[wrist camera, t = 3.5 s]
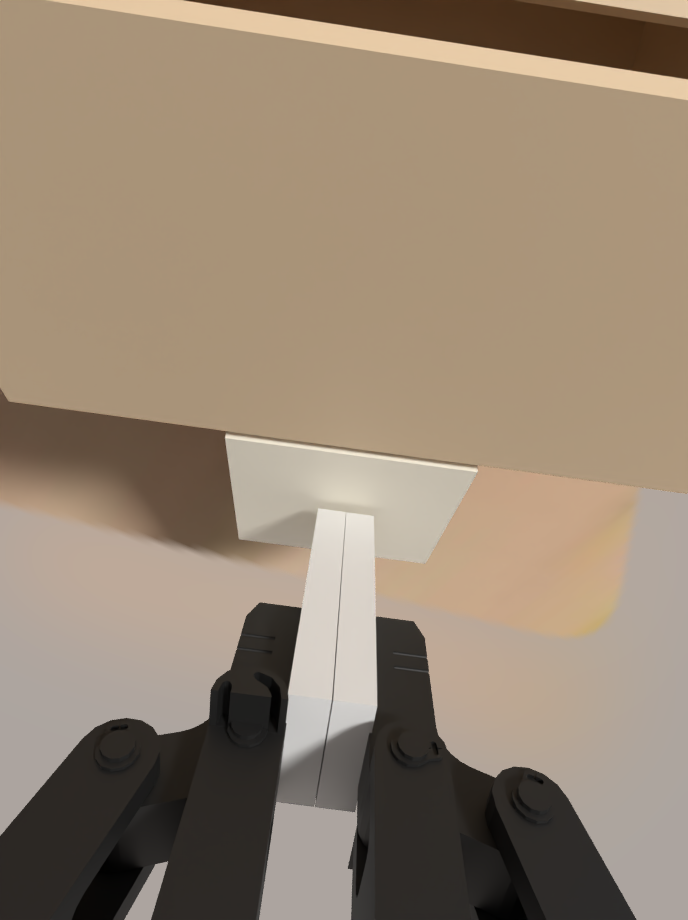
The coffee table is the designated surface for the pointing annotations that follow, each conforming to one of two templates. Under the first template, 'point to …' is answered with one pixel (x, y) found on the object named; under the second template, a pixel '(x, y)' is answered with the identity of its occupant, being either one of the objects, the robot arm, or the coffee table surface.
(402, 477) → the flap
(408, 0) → the carton
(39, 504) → the coffee table surface
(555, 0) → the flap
